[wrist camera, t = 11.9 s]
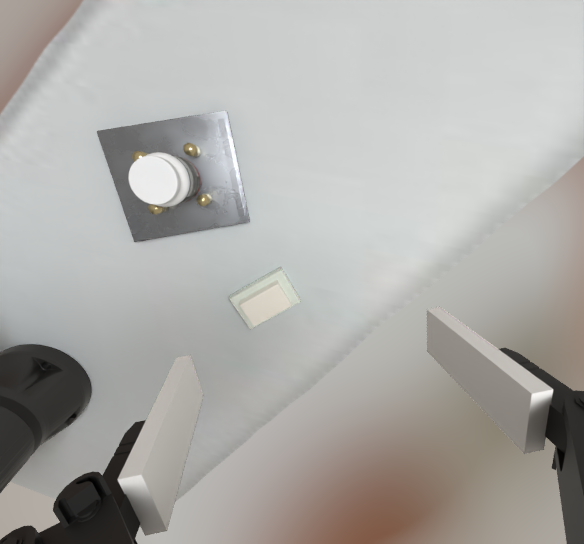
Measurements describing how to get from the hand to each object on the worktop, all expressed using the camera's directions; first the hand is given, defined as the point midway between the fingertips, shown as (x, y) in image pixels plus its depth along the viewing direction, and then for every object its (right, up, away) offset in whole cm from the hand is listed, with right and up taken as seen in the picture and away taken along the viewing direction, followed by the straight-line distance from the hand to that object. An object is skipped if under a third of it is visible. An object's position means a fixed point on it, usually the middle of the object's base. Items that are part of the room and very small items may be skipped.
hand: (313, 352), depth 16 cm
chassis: (-16, +17, +23) cm, 33 cm away
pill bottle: (-16, +17, +22) cm, 32 cm away
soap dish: (-5, +1, +30) cm, 30 cm away
